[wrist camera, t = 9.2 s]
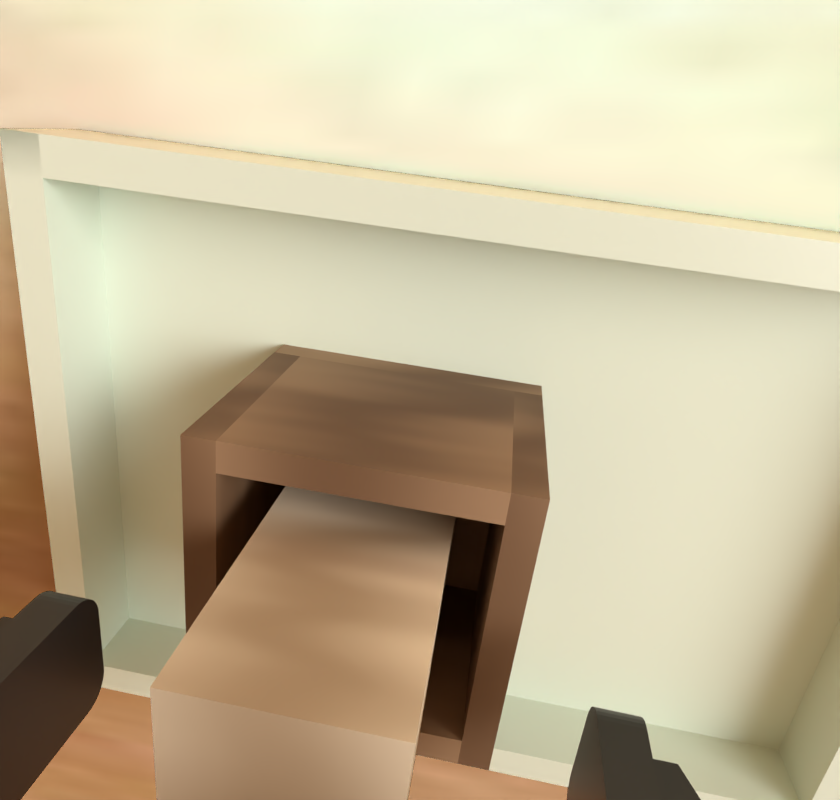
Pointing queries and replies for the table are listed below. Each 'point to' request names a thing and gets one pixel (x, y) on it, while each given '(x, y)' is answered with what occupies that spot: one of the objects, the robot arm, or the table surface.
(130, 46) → the table surface
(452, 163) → the table surface
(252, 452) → the open drawer box
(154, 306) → the tray
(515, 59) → the table surface
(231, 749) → the peg
